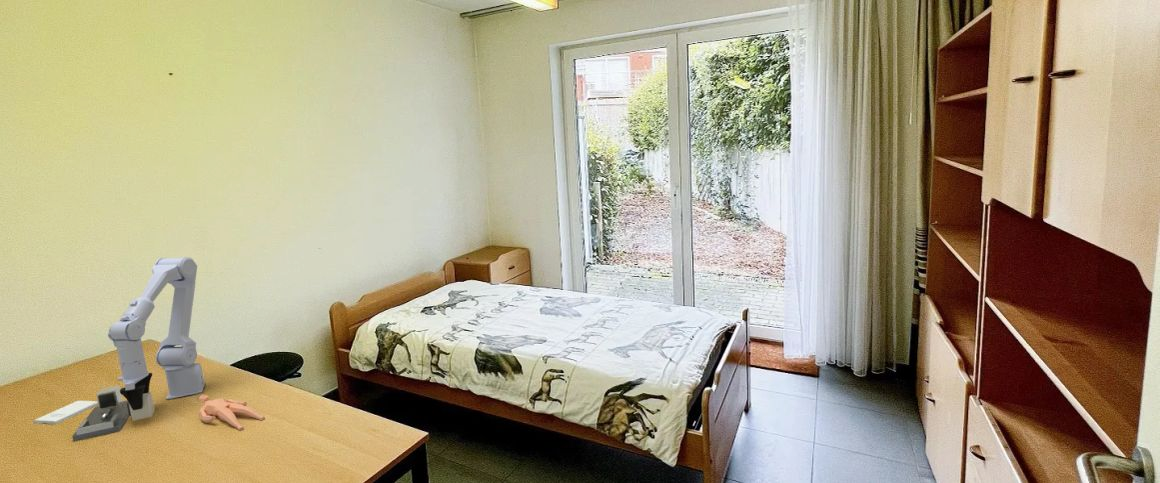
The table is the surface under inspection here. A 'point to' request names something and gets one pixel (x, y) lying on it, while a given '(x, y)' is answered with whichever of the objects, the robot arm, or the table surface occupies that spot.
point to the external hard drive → (66, 412)
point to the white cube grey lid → (146, 409)
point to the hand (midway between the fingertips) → (140, 404)
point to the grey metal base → (104, 415)
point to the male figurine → (226, 411)
